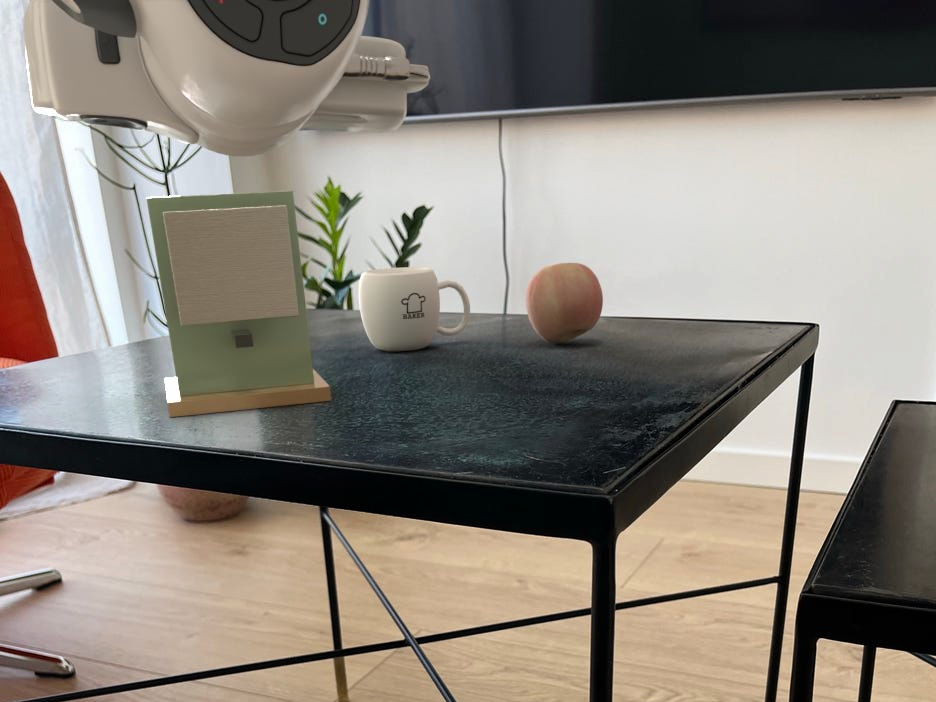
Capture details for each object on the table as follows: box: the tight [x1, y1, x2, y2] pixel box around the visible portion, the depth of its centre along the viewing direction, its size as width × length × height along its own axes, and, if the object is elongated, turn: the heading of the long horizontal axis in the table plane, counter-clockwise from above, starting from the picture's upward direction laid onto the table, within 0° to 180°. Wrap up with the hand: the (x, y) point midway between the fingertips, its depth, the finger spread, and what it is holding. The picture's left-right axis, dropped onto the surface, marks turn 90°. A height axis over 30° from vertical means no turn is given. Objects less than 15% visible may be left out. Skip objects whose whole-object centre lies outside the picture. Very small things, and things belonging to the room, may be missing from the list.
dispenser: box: [145, 189, 332, 418], centre depth 84 cm, size 13×13×16 cm
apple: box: [525, 262, 604, 345], centre depth 105 cm, size 8×8×8 cm
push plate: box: [163, 205, 299, 326], centre depth 77 cm, size 1×9×8 cm, turn 107°
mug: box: [358, 266, 471, 352], centre depth 107 cm, size 12×8×8 cm
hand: (215, 106), depth 62 cm, fingers closed
